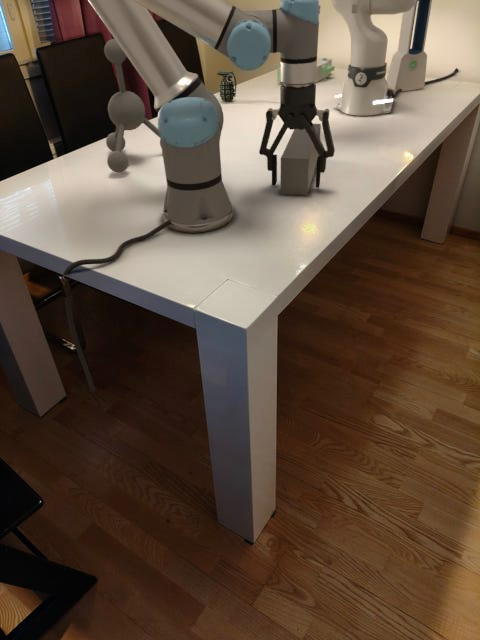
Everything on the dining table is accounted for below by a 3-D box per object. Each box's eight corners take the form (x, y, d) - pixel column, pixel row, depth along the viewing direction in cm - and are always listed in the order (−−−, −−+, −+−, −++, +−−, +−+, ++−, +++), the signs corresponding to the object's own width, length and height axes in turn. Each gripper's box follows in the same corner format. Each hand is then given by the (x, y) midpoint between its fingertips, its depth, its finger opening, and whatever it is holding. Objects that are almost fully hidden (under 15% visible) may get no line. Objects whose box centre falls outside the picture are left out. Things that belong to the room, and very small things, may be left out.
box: (307, 195, 114) (308, 159, 108) (280, 194, 115) (280, 158, 110) (319, 156, 134) (320, 123, 128) (296, 155, 135) (297, 123, 130)
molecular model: (192, 164, 133) (178, 39, 115) (111, 178, 128) (83, 49, 109) (169, 139, 151) (154, 28, 132) (98, 152, 145) (72, 36, 127)
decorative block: (300, 55, 216) (341, 58, 206) (299, 71, 220) (340, 74, 210) (268, 66, 200) (311, 70, 190) (268, 83, 204) (310, 87, 194)
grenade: (217, 103, 183) (215, 73, 177) (221, 99, 187) (219, 70, 181) (234, 103, 181) (233, 73, 175) (238, 99, 186) (236, 70, 180)
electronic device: (394, 92, 183) (407, -4, 164) (384, 88, 188) (396, -5, 170) (424, 88, 185) (440, -6, 166) (413, 84, 191) (428, -8, 172)
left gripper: (353, 78, 103) (344, 180, 117) (250, 79, 108) (253, 176, 122) (351, 87, 98) (342, 192, 111) (242, 87, 102) (247, 188, 116)
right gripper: (385, -59, 115) (377, 10, 124) (299, -54, 119) (297, 13, 128) (385, -58, 110) (377, 13, 119) (295, -53, 115) (294, 16, 123)
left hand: (295, 184), depth 116 cm, fingers open, 10 cm apart
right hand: (335, 13), depth 123 cm, fingers open, 8 cm apart
